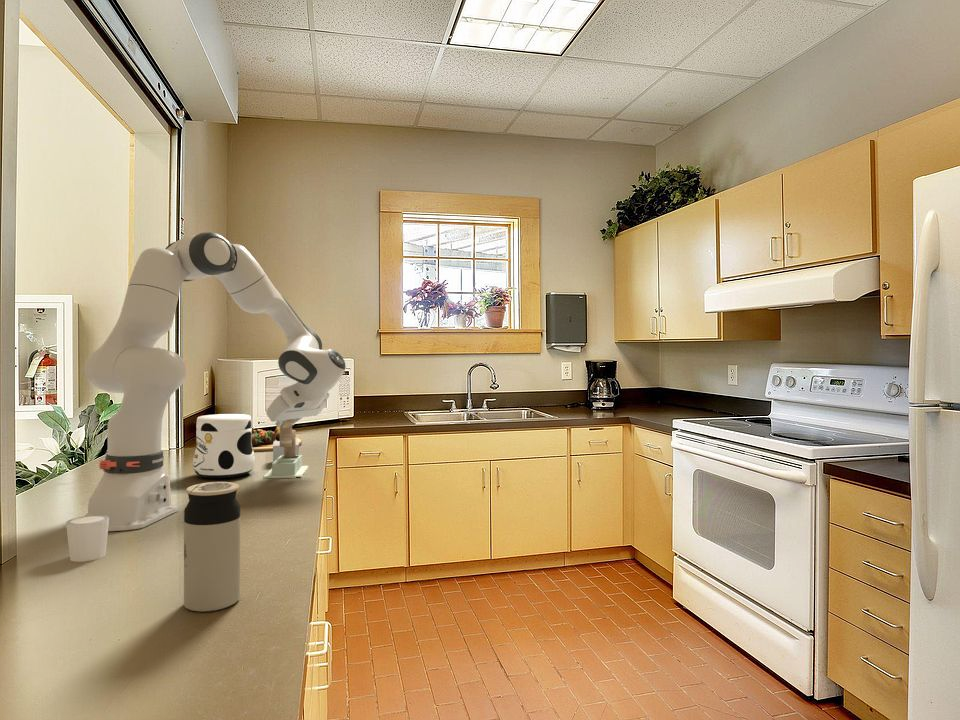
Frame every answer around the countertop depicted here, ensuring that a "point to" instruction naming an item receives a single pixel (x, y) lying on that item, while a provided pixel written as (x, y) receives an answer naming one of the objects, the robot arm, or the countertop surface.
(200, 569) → the travel mug
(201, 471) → the milk container
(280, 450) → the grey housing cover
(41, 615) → the countertop surface
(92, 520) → the white cup
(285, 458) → the pin board
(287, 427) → the beech peg
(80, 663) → the countertop surface
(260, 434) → the wooden plate with food
